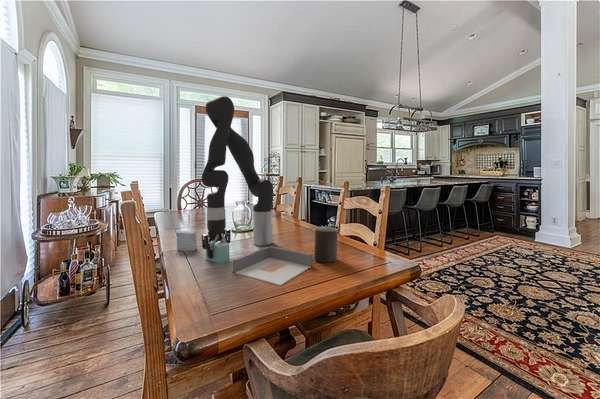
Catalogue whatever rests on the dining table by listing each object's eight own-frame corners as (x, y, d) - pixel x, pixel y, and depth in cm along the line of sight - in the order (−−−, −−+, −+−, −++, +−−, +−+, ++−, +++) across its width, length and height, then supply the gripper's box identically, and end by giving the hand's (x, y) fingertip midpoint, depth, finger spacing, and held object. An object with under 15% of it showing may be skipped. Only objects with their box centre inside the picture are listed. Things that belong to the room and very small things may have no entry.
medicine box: (197, 248, 135) (196, 231, 134) (193, 251, 131) (192, 233, 130) (181, 248, 136) (181, 230, 135) (176, 251, 132) (176, 232, 131)
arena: (269, 256, 124) (268, 245, 124) (312, 266, 113) (312, 254, 112) (232, 272, 106) (232, 259, 105) (280, 285, 94) (280, 271, 93)
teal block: (214, 256, 124) (214, 240, 123) (229, 260, 120) (229, 243, 119) (205, 259, 120) (205, 243, 119) (220, 263, 115) (220, 246, 114)
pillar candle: (321, 265, 114) (323, 229, 112) (310, 258, 123) (311, 224, 121) (341, 261, 119) (342, 227, 117) (328, 255, 127) (329, 222, 125)
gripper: (223, 214, 126) (223, 250, 128) (196, 219, 114) (197, 259, 115) (235, 216, 122) (235, 253, 124) (208, 221, 110) (209, 262, 112)
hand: (217, 255), depth 120 cm, fingers open, 7 cm apart
